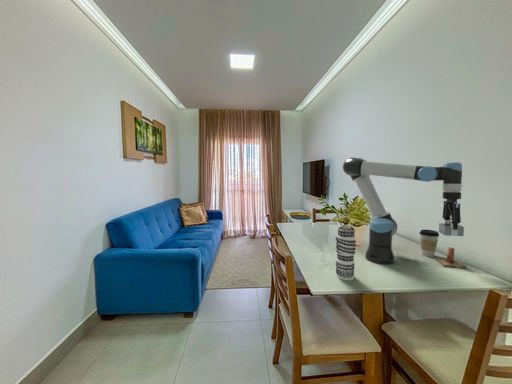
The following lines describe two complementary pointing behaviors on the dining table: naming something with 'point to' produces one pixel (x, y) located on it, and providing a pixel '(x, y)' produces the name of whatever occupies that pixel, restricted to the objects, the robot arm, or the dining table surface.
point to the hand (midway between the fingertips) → (450, 233)
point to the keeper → (450, 260)
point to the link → (446, 229)
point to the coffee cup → (428, 242)
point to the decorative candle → (345, 252)
